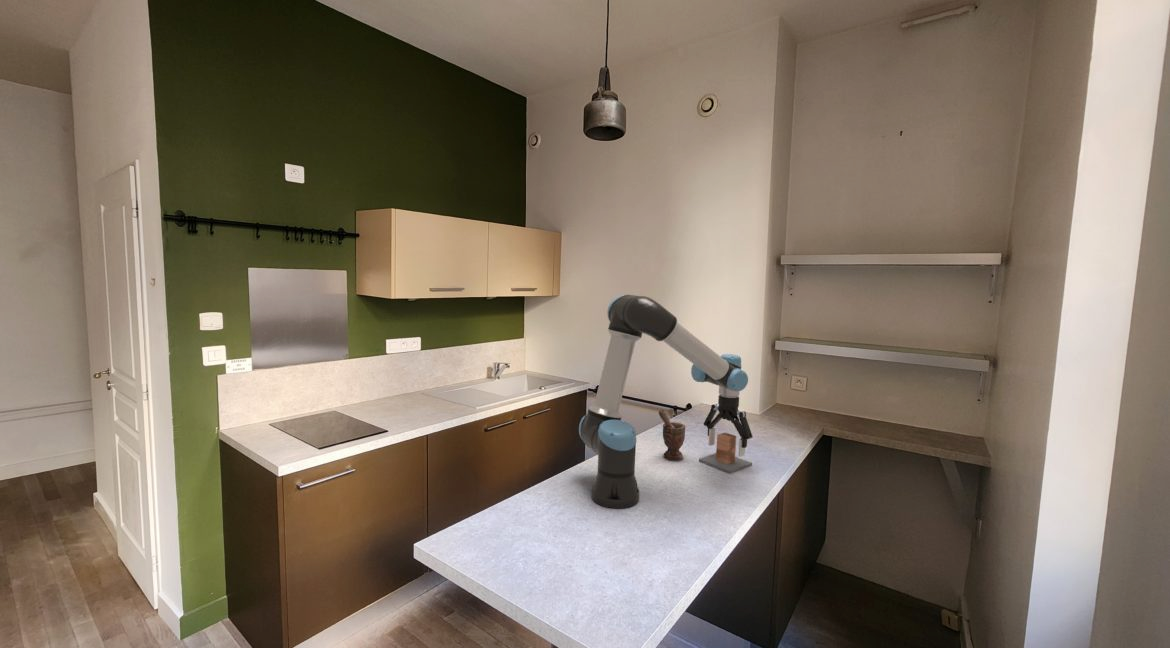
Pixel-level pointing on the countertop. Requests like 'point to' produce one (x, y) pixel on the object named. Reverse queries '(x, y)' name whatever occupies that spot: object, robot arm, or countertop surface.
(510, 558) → the countertop surface
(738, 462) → the slate card
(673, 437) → the mortar and pestle
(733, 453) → the terracotta block
